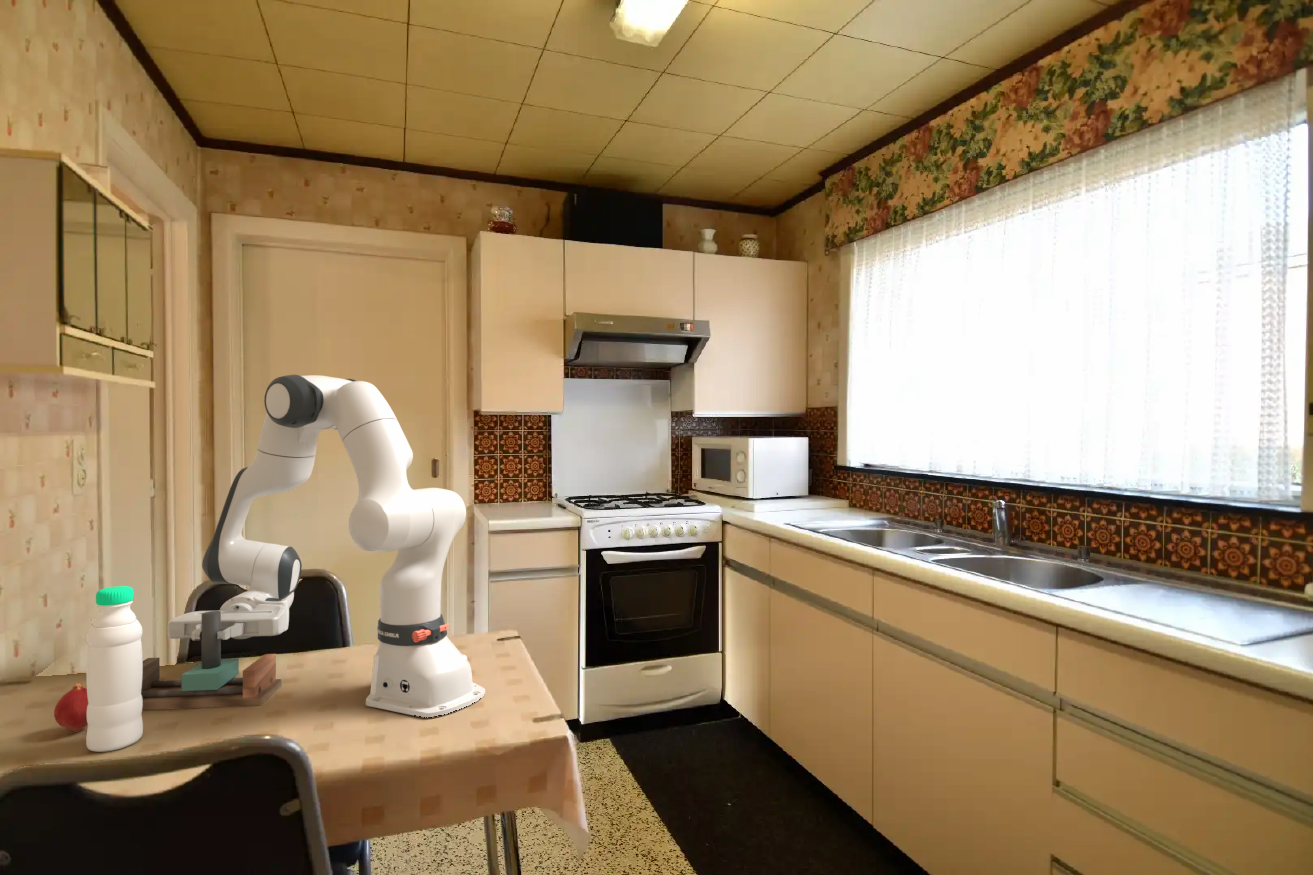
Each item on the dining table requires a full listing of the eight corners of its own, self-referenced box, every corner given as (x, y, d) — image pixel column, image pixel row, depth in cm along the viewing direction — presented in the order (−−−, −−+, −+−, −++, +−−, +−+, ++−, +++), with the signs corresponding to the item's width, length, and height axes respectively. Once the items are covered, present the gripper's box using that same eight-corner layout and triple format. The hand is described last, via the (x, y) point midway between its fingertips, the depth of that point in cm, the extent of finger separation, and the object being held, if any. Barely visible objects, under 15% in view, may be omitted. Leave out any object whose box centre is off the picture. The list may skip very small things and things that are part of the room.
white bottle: (75, 748, 106) (75, 590, 105) (124, 730, 112) (124, 581, 112) (104, 757, 103) (104, 595, 103) (153, 737, 110) (152, 585, 109)
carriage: (238, 673, 130) (238, 607, 130) (217, 689, 122) (217, 618, 122) (205, 674, 129) (205, 607, 129) (181, 690, 121) (181, 619, 121)
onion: (52, 731, 112) (52, 683, 112) (96, 720, 116) (96, 674, 116) (56, 742, 108) (56, 693, 108) (102, 730, 112) (102, 683, 112)
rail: (281, 686, 132) (281, 653, 132) (260, 705, 123) (260, 669, 123) (148, 691, 129) (148, 657, 129) (116, 711, 120) (116, 675, 120)
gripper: (190, 601, 137) (147, 620, 123) (296, 599, 140) (266, 617, 126) (190, 632, 137) (147, 654, 124) (296, 629, 140) (266, 650, 126)
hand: (208, 635), depth 125 cm, fingers closed on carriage, 3 cm apart
